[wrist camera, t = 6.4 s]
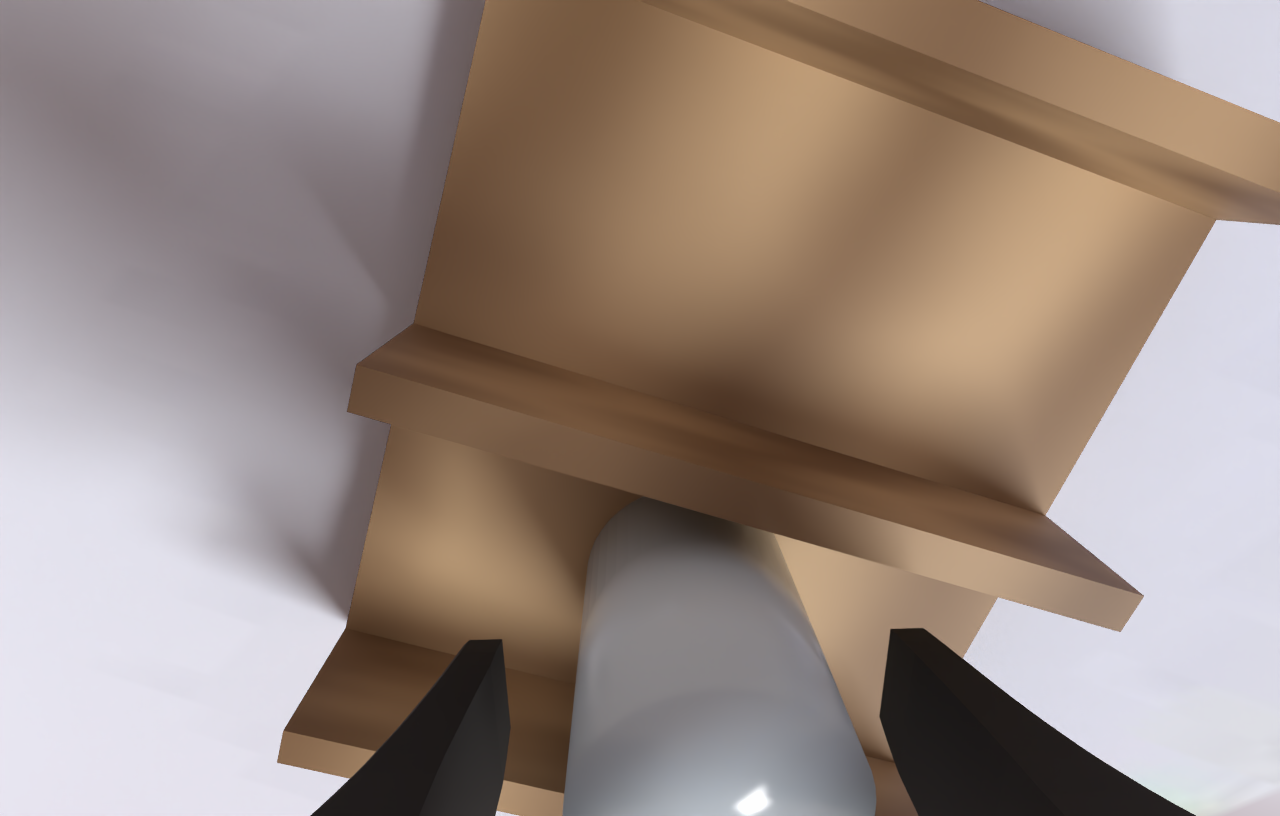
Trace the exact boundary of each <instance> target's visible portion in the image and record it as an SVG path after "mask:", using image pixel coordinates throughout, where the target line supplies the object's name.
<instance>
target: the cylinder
mask: <svg viewBox="0 0 1280 816" xmlns="http://www.w3.org/2000/svg"><path fill="white" fill-rule="evenodd" d="M875 810H876V787H875V783H874V778H873V774H872V771H871V768H870V766H869V763H868V761H867V758H866V756H865V754H864V751H863V749H862V746H861V744H860V741H859V739H858V736H857V734H856V732H855V729H854V727H853V724H852V722H851V719H850V717H849V715H848V712H847V710H846V707H845V705H844V702H843V700H842V697H841V695H840V693H839V690H838V688H837V685H836V683H835V680H834V678H833V676H832V673H831V671H830V668H829V666H828V663H827V661H826V658H825V656H824V654H823V651H822V649H821V646H820V644H819V641H818V639H817V637H816V634H815V632H814V629H813V627H812V624H811V622H810V619H809V617H808V615H807V612H806V610H805V607H804V605H803V602H802V600H801V598H800V595H799V593H798V590H797V588H796V585H795V583H794V580H793V578H792V576H791V573H790V571H789V568H788V566H787V563H786V561H785V558H784V556H783V554H782V551H781V549H780V546H779V544H778V542H777V539H776V537H775V535H774V533H771V532H768V531H764V530H761V529H757V528H753V527H750V526H746V525H743V524H739V523H736V522H732V521H729V520H725V519H722V518H718V517H715V516H711V515H708V514H704V513H701V512H697V511H694V510H690V509H687V508H683V507H680V506H676V505H673V504H669V503H666V502H662V501H659V500H655V499H652V498H648V497H645V496H644V497H641V498H639V499H637V500H636V501H634V502H632V503H630V504H628V505H627V506H626V507H624V508H623V509H622V510H620V511H619V512H618V513H617V514H615V515H614V516H613V517H612V518H611V519H610V520H609V521H608V522H607V524H606V525H605V526H604V528H603V529H602V530H601V532H600V533H599V535H598V537H597V538H596V540H595V542H594V544H593V547H592V549H591V552H590V556H589V560H588V565H587V575H586V585H585V595H584V605H583V615H582V624H581V634H580V644H579V654H578V664H577V674H576V684H575V693H574V703H573V713H572V723H571V733H570V743H569V752H568V762H567V772H566V782H565V792H564V802H563V816H875Z"/></svg>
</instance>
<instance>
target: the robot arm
mask: <svg viewBox="0 0 1280 816" xmlns="http://www.w3.org/2000/svg"><path fill="white" fill-rule="evenodd" d="M879 717H880V721H881V724H882V727H883V730H884V733H885V736H886V739H887V742H888V745H889V748H890V751H891V754H892V757H893V759H894V762H895V765H896V768H897V771H898V773H899V775H900V777H901V780H902V782H903V784H904V786H905V788H906V790H907V793H908V795H909V797H910V799H911V801H912V803H913V805H914V807H915V809H916V812H917V814H918V816H1196V815H1194V814H1192V813H1190V812H1188V811H1186V810H1184V809H1183V808H1181V807H1179V806H1177V805H1175V804H1173V803H1172V802H1170V801H1168V800H1166V799H1165V798H1163V797H1161V796H1159V795H1158V794H1156V793H1154V792H1152V791H1151V790H1149V789H1147V788H1145V787H1144V786H1142V785H1141V784H1139V783H1137V782H1136V781H1134V780H1132V779H1131V778H1129V777H1128V776H1126V775H1124V774H1123V773H1121V772H1119V771H1118V770H1116V769H1114V768H1113V767H1111V766H1110V765H1108V764H1106V763H1105V762H1103V761H1102V760H1100V759H1099V758H1097V757H1095V756H1094V755H1092V754H1091V753H1089V752H1088V751H1086V750H1085V749H1083V748H1082V747H1080V746H1079V745H1077V744H1076V743H1075V742H1073V741H1072V740H1070V739H1069V738H1067V737H1066V736H1064V735H1063V734H1062V733H1060V732H1059V731H1057V730H1056V729H1054V728H1053V727H1052V726H1050V725H1049V724H1047V723H1046V722H1044V721H1043V720H1042V719H1040V718H1039V717H1038V716H1036V715H1035V714H1034V713H1032V712H1031V711H1029V710H1028V709H1027V708H1025V707H1024V706H1023V705H1021V704H1020V703H1019V702H1017V701H1016V700H1015V699H1013V698H1012V697H1011V696H1010V695H1008V694H1007V693H1006V692H1004V691H1003V690H1002V689H1000V688H999V687H998V686H997V685H995V684H994V683H993V682H991V681H990V680H989V679H988V678H986V677H985V676H984V675H983V674H981V673H980V672H979V671H978V670H976V669H975V668H974V667H973V666H971V665H970V664H969V663H967V662H966V661H965V660H964V659H962V658H961V657H960V656H959V655H957V654H956V653H955V652H954V651H952V650H951V649H950V648H949V647H947V646H946V645H945V644H944V643H942V642H941V641H940V640H939V639H937V638H936V637H935V636H933V635H932V634H931V633H929V632H928V631H927V630H925V629H924V628H902V629H890V637H889V645H888V653H887V660H886V668H885V676H884V684H883V692H882V699H881V707H880V715H879ZM510 729H511V725H510V715H509V704H508V694H507V684H506V673H505V663H504V653H503V642H502V639H488V640H469V641H468V642H467V643H466V644H465V645H463V647H462V648H461V649H460V651H459V652H458V653H457V655H456V656H455V657H454V659H453V660H452V661H451V663H450V664H449V665H448V667H447V668H446V669H445V671H444V672H443V673H442V675H441V676H440V677H439V678H438V680H437V681H436V682H435V684H434V685H433V686H432V687H431V689H430V690H429V691H428V692H427V694H426V695H425V696H424V697H423V698H422V700H421V701H420V702H419V703H418V704H417V706H416V707H415V708H414V709H413V710H412V712H411V713H410V714H409V715H408V716H407V718H406V719H405V720H404V721H403V722H402V724H401V725H400V726H399V727H398V728H397V729H396V730H395V732H394V733H393V734H392V735H391V736H390V737H389V738H388V739H387V740H386V741H385V742H384V743H383V745H382V746H381V747H380V748H379V749H378V750H377V751H376V752H375V753H374V754H373V755H372V756H371V758H370V759H369V760H368V761H367V762H366V763H365V764H364V765H363V766H362V767H361V768H360V769H359V770H358V771H357V772H356V773H355V774H354V775H353V776H352V777H351V778H350V779H349V780H348V781H347V782H346V783H345V784H344V785H343V786H342V787H341V788H340V789H339V790H338V791H337V792H336V793H335V794H334V795H332V796H331V797H330V798H329V799H328V800H327V801H326V802H325V803H324V804H323V805H322V806H321V807H320V808H318V809H317V810H316V811H315V812H314V813H313V814H312V815H311V816H495V814H496V810H497V806H498V802H499V798H500V794H501V790H502V786H503V780H504V773H505V766H506V760H507V752H508V744H509V737H510Z"/></svg>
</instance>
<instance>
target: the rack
mask: <svg viewBox="0 0 1280 816" xmlns="http://www.w3.org/2000/svg"><path fill="white" fill-rule="evenodd" d="M1216 220H1226V221H1238V222H1251V223H1263V224H1276V225H1280V123H1279V122H1277V121H1274V120H1272V119H1269V118H1267V117H1264V116H1262V115H1259V114H1257V113H1255V112H1252V111H1250V110H1247V109H1245V108H1242V107H1240V106H1237V105H1235V104H1232V103H1230V102H1227V101H1225V100H1222V99H1220V98H1217V97H1215V96H1213V95H1210V94H1208V93H1205V92H1203V91H1200V90H1198V89H1195V88H1193V87H1190V86H1188V85H1185V84H1183V83H1180V82H1178V81H1176V80H1173V79H1171V78H1168V77H1166V76H1163V75H1161V74H1158V73H1156V72H1153V71H1151V70H1148V69H1146V68H1143V67H1141V66H1139V65H1136V64H1134V63H1131V62H1129V61H1126V60H1124V59H1121V58H1119V57H1116V56H1114V55H1111V54H1109V53H1106V52H1104V51H1101V50H1099V49H1097V48H1094V47H1092V46H1089V45H1087V44H1084V43H1082V42H1079V41H1077V40H1074V39H1072V38H1069V37H1067V36H1064V35H1062V34H1060V33H1057V32H1055V31H1052V30H1050V29H1047V28H1045V27H1042V26H1040V25H1037V24H1035V23H1032V22H1030V21H1027V20H1025V19H1023V18H1020V17H1018V16H1015V15H1013V14H1010V13H1008V12H1005V11H1003V10H1000V9H998V8H995V7H993V6H990V5H988V4H986V3H983V2H981V1H978V0H486V1H485V5H484V10H483V14H482V19H481V23H480V28H479V32H478V37H477V41H476V46H475V50H474V55H473V59H472V64H471V68H470V73H469V77H468V82H467V86H466V91H465V95H464V100H463V104H462V109H461V113H460V118H459V122H458V126H457V131H456V135H455V140H454V144H453V149H452V153H451V158H450V162H449V167H448V171H447V176H446V180H445V185H444V189H443V194H442V198H441V203H440V207H439V212H438V216H437V221H436V225H435V230H434V234H433V239H432V243H431V248H430V252H429V257H428V261H427V266H426V270H425V275H424V279H423V284H422V288H421V293H420V297H419V301H418V306H417V310H416V315H415V319H414V323H413V324H412V325H411V326H409V327H408V328H406V329H405V330H404V331H402V332H401V333H399V334H398V335H397V336H395V337H394V338H393V339H391V340H390V341H388V342H387V343H386V344H384V345H383V346H381V347H380V348H379V349H377V350H376V351H375V352H373V353H372V354H370V355H369V356H368V357H366V358H365V359H363V360H362V361H361V362H359V363H358V364H357V365H356V369H355V374H354V379H353V384H352V389H351V394H350V399H349V404H348V409H347V412H350V413H353V414H357V415H360V416H364V417H367V418H371V419H374V420H378V421H381V422H385V423H388V424H391V427H390V432H389V436H388V441H387V445H386V450H385V454H384V459H383V463H382V468H381V472H380V477H379V481H378V485H377V490H376V494H375V499H374V503H373V508H372V512H371V517H370V521H369V526H368V530H367V535H366V539H365V544H364V548H363V553H362V557H361V562H360V566H359V571H358V575H357V580H356V584H355V589H354V593H353V598H352V602H351V607H350V611H349V616H348V620H347V625H346V629H345V630H344V632H343V634H342V635H341V637H340V638H339V640H338V642H337V643H336V645H335V647H334V648H333V650H332V652H331V653H330V655H329V657H328V658H327V660H326V661H325V663H324V665H323V666H322V668H321V670H320V671H319V673H318V675H317V676H316V678H315V680H314V681H313V683H312V684H311V686H310V688H309V689H308V691H307V693H306V694H305V696H304V698H303V699H302V701H301V703H300V704H299V706H298V707H297V709H296V711H295V712H294V714H293V716H292V717H291V719H290V721H289V722H288V724H287V726H286V727H285V729H284V731H283V735H282V740H281V745H280V750H279V755H278V760H277V763H281V764H286V765H291V766H295V767H300V768H304V769H309V770H313V771H318V772H323V773H327V774H332V775H336V776H341V777H345V778H351V777H352V776H353V775H354V774H355V773H356V772H357V771H358V770H359V769H360V768H361V767H362V766H363V765H364V764H365V763H366V762H367V761H368V760H369V759H370V758H371V756H372V755H373V754H374V753H375V752H376V751H377V750H378V749H379V748H380V747H381V746H382V745H383V743H384V742H385V741H386V740H387V739H388V738H389V737H390V736H391V735H392V734H393V733H394V732H395V730H396V729H397V728H398V727H399V726H400V725H401V724H402V722H403V721H404V720H405V719H406V718H407V716H408V715H409V714H410V713H411V712H412V710H413V709H414V708H415V707H416V706H417V704H418V703H419V702H420V701H421V700H422V698H423V697H424V696H425V695H426V694H427V692H428V691H429V690H430V689H431V687H432V686H433V685H434V684H435V682H436V681H437V680H438V678H439V677H440V676H441V675H442V673H443V672H444V671H445V669H446V668H447V667H448V665H449V664H450V663H451V661H452V660H453V659H454V657H455V656H456V655H457V653H458V652H459V651H460V649H461V648H462V647H463V645H465V644H466V643H467V642H468V641H469V640H488V639H502V642H503V653H504V663H505V673H506V684H507V694H508V704H509V715H510V725H511V729H510V737H509V744H508V752H507V760H506V766H505V773H504V780H503V786H502V790H501V794H500V798H499V802H498V806H497V810H496V811H501V812H506V813H510V814H515V815H519V816H563V802H564V792H565V782H566V772H567V762H568V752H569V743H570V733H571V723H572V713H573V703H574V693H575V684H576V674H577V664H578V654H579V644H580V634H581V624H582V615H583V605H584V595H585V585H586V575H587V565H588V560H589V556H590V552H591V549H592V547H593V544H594V542H595V540H596V538H597V537H598V535H599V533H600V532H601V530H602V529H603V528H604V526H605V525H606V524H607V522H608V521H609V520H610V519H611V518H612V517H613V516H614V515H615V514H617V513H618V512H619V511H620V510H622V509H623V508H624V507H626V506H627V505H628V504H630V503H632V502H634V501H636V500H637V499H639V498H641V497H644V496H645V497H648V498H652V499H655V500H659V501H662V502H666V503H669V504H673V505H676V506H680V507H683V508H687V509H690V510H694V511H697V512H701V513H704V514H708V515H711V516H715V517H718V518H722V519H725V520H729V521H732V522H736V523H739V524H743V525H746V526H750V527H753V528H757V529H761V530H764V531H768V532H771V533H774V535H775V537H776V539H777V542H778V544H779V546H780V549H781V551H782V554H783V556H784V558H785V561H786V563H787V566H788V568H789V571H790V573H791V576H792V578H793V580H794V583H795V585H796V588H797V590H798V593H799V595H800V598H801V600H802V602H803V605H804V607H805V610H806V612H807V615H808V617H809V619H810V622H811V624H812V627H813V629H814V632H815V634H816V637H817V639H818V641H819V644H820V646H821V649H822V651H823V654H824V656H825V658H826V661H827V663H828V666H829V668H830V671H831V673H832V676H833V678H834V680H835V683H836V685H837V688H838V690H839V693H840V695H841V697H842V700H843V702H844V705H845V707H846V710H847V712H848V715H849V717H850V719H851V722H852V724H853V727H854V729H855V732H856V734H857V736H858V739H859V741H860V744H861V746H862V749H863V751H864V754H865V756H866V758H867V761H868V763H869V766H870V768H871V771H872V774H873V778H874V783H875V787H876V810H875V816H918V814H917V812H916V809H915V807H914V805H913V803H912V801H911V799H910V797H909V795H908V793H907V790H906V788H905V786H904V784H903V782H902V780H901V777H900V775H899V773H898V771H897V768H896V765H895V762H894V759H893V757H892V754H891V751H890V748H889V745H888V742H887V739H886V736H885V733H884V730H883V727H882V724H881V721H880V717H879V715H880V707H881V699H882V692H883V684H884V676H885V668H886V660H887V653H888V645H889V637H890V629H902V628H924V629H925V630H927V631H928V632H929V633H931V634H932V635H933V636H935V637H936V638H937V639H939V640H940V641H941V642H942V643H944V644H945V645H946V646H947V647H949V648H950V649H951V650H952V651H954V652H955V653H956V654H957V655H959V656H960V657H961V658H963V657H964V655H965V653H966V652H967V650H968V648H969V646H970V645H971V643H972V641H973V639H974V638H975V636H976V634H977V633H978V631H979V629H980V627H981V626H982V624H983V622H984V620H985V619H986V617H987V615H988V614H989V612H990V610H991V608H992V607H993V605H994V603H995V601H996V600H997V598H998V597H999V598H1003V599H1006V600H1010V601H1013V602H1017V603H1020V604H1024V605H1027V606H1031V607H1034V608H1038V609H1041V610H1045V611H1048V612H1052V613H1055V614H1059V615H1062V616H1066V617H1070V618H1073V619H1077V620H1080V621H1084V622H1087V623H1091V624H1094V625H1098V626H1101V627H1105V628H1108V629H1112V630H1115V631H1119V632H1121V630H1122V629H1123V627H1124V626H1125V624H1126V623H1127V621H1128V620H1129V618H1130V617H1131V615H1132V614H1133V612H1134V611H1135V609H1136V608H1137V606H1138V605H1139V603H1140V602H1141V600H1142V598H1143V597H1144V596H1143V595H1142V594H1141V593H1140V592H1138V591H1137V590H1136V589H1135V588H1134V587H1132V586H1131V585H1130V584H1129V583H1127V582H1126V581H1125V580H1124V579H1123V578H1121V577H1120V576H1119V575H1118V574H1116V573H1115V572H1114V571H1113V570H1111V569H1110V568H1109V567H1108V566H1107V565H1105V564H1104V563H1103V562H1102V561H1100V560H1099V559H1098V558H1097V557H1096V556H1094V555H1093V554H1092V553H1091V552H1089V551H1088V550H1087V549H1086V548H1084V547H1083V546H1082V545H1081V544H1080V543H1078V542H1077V541H1076V540H1075V539H1073V538H1072V537H1071V536H1070V535H1069V534H1067V533H1066V532H1065V531H1064V530H1062V529H1061V528H1060V527H1059V526H1057V525H1056V524H1055V523H1054V522H1053V521H1051V520H1050V519H1049V518H1048V517H1046V516H1045V515H1046V513H1047V512H1048V510H1049V508H1050V506H1051V505H1052V503H1053V501H1054V499H1055V498H1056V496H1057V494H1058V493H1059V491H1060V489H1061V487H1062V486H1063V484H1064V482H1065V480H1066V479H1067V477H1068V475H1069V474H1070V472H1071V470H1072V468H1073V467H1074V465H1075V463H1076V461H1077V460H1078V458H1079V456H1080V455H1081V453H1082V451H1083V449H1084V448H1085V446H1086V444H1087V442H1088V441H1089V439H1090V437H1091V436H1092V434H1093V432H1094V430H1095V429H1096V427H1097V425H1098V423H1099V422H1100V420H1101V418H1102V417H1103V415H1104V413H1105V411H1106V410H1107V408H1108V406H1109V404H1110V403H1111V401H1112V399H1113V398H1114V396H1115V394H1116V392H1117V391H1118V389H1119V387H1120V385H1121V384H1122V382H1123V380H1124V379H1125V377H1126V375H1127V373H1128V372H1129V370H1130V368H1131V366H1132V365H1133V363H1134V361H1135V360H1136V358H1137V356H1138V354H1139V353H1140V351H1141V349H1142V347H1143V346H1144V344H1145V342H1146V341H1147V339H1148V337H1149V335H1150V334H1151V332H1152V330H1153V328H1154V327H1155V325H1156V323H1157V322H1158V320H1159V318H1160V316H1161V315H1162V313H1163V311H1164V309H1165V308H1166V306H1167V304H1168V303H1169V301H1170V299H1171V297H1172V296H1173V294H1174V292H1175V290H1176V289H1177V287H1178V285H1179V284H1180V282H1181V280H1182V278H1183V277H1184V275H1185V273H1186V271H1187V270H1188V268H1189V266H1190V265H1191V263H1192V261H1193V259H1194V258H1195V256H1196V254H1197V252H1198V251H1199V249H1200V247H1201V246H1202V244H1203V242H1204V240H1205V239H1206V237H1207V235H1208V233H1209V232H1210V230H1211V228H1212V227H1213V225H1214V223H1215V221H1216Z"/></svg>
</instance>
